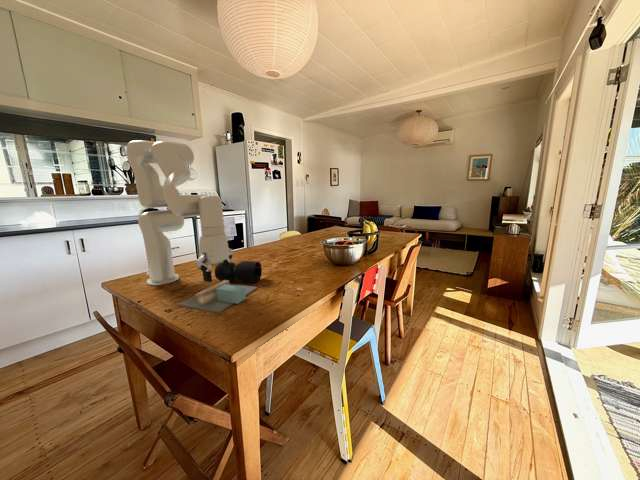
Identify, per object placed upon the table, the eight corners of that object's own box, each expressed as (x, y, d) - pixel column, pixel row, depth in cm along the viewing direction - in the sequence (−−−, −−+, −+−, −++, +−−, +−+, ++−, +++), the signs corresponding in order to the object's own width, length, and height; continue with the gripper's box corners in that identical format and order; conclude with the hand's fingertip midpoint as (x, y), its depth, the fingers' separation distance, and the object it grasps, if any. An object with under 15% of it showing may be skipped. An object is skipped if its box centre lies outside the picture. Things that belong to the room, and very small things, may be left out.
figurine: (264, 263, 117) (222, 263, 119) (257, 259, 108) (213, 259, 110) (262, 284, 114) (220, 283, 116) (255, 281, 105) (209, 280, 107)
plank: (197, 304, 89) (196, 293, 88) (225, 289, 102) (224, 280, 101) (203, 305, 88) (201, 294, 87) (230, 290, 101) (229, 280, 100)
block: (216, 288, 91) (236, 291, 88) (224, 284, 95) (244, 287, 92) (217, 300, 92) (237, 303, 89) (226, 295, 96) (245, 298, 93)
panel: (178, 305, 90) (178, 304, 90) (222, 283, 110) (222, 282, 110) (219, 313, 83) (219, 311, 83) (257, 288, 104) (257, 287, 103)
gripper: (221, 227, 98) (225, 269, 102) (184, 234, 83) (191, 284, 86) (237, 227, 96) (241, 270, 99) (202, 235, 80) (208, 286, 83)
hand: (218, 277), depth 93 cm, fingers open, 9 cm apart
